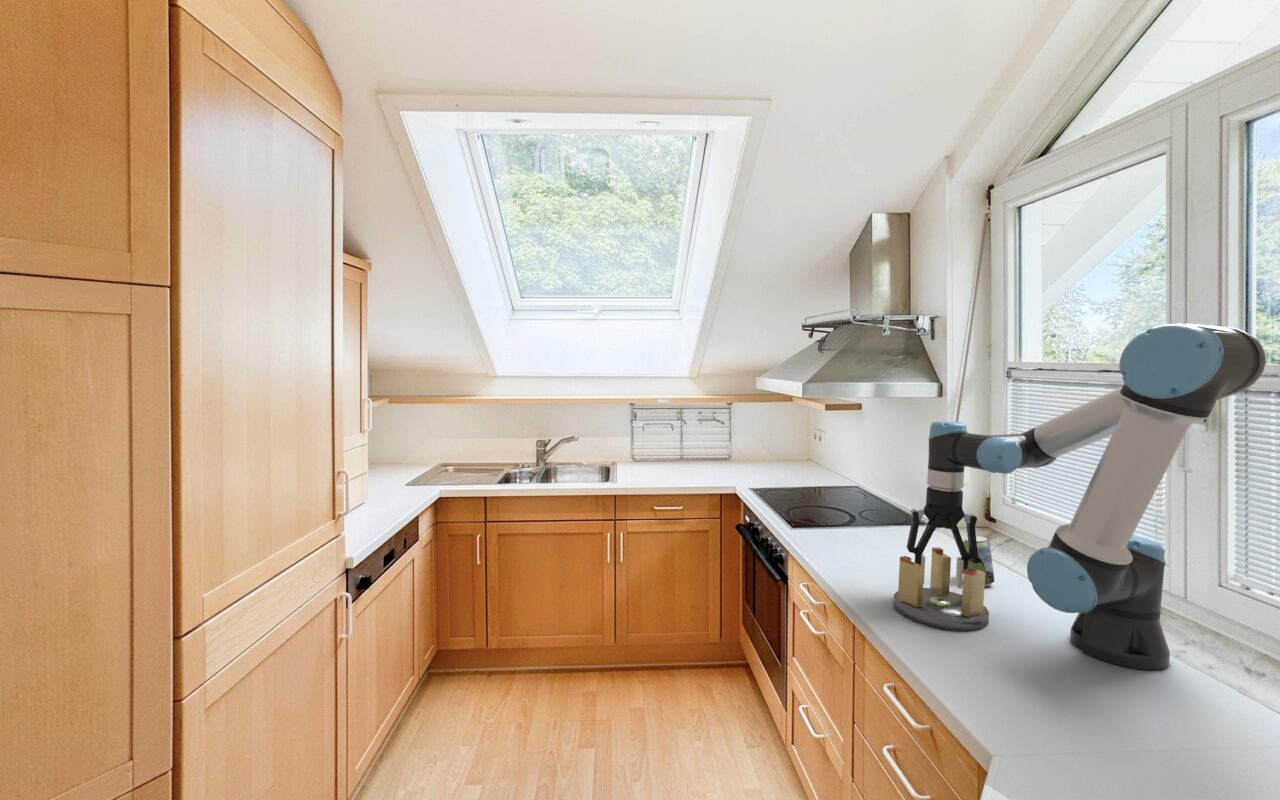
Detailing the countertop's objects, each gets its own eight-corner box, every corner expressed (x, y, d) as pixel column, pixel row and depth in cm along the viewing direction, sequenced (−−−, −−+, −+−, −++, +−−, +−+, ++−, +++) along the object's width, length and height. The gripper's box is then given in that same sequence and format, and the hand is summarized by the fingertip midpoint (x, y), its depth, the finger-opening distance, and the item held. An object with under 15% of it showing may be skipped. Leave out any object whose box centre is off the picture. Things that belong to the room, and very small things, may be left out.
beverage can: (998, 589, 147) (1000, 542, 146) (965, 587, 148) (968, 540, 147) (988, 580, 153) (991, 535, 152) (957, 578, 154) (960, 533, 153)
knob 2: (949, 595, 136) (951, 554, 136) (941, 595, 136) (943, 554, 136) (937, 587, 141) (939, 547, 140) (930, 587, 141) (932, 547, 140)
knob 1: (922, 605, 130) (924, 562, 130) (916, 607, 129) (919, 563, 129) (903, 598, 134) (905, 555, 134) (897, 599, 134) (899, 557, 133)
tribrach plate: (1007, 620, 129) (1007, 607, 129) (953, 639, 120) (954, 625, 119) (927, 590, 145) (928, 578, 145) (875, 604, 136) (876, 592, 136)
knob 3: (974, 610, 129) (977, 565, 128) (982, 613, 127) (985, 568, 126) (961, 614, 126) (963, 569, 126) (969, 617, 125) (971, 572, 124)
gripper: (988, 487, 138) (983, 583, 139) (895, 481, 143) (891, 573, 145) (998, 494, 131) (993, 595, 132) (900, 487, 136) (895, 584, 138)
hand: (939, 584), depth 139 cm, fingers open, 7 cm apart
